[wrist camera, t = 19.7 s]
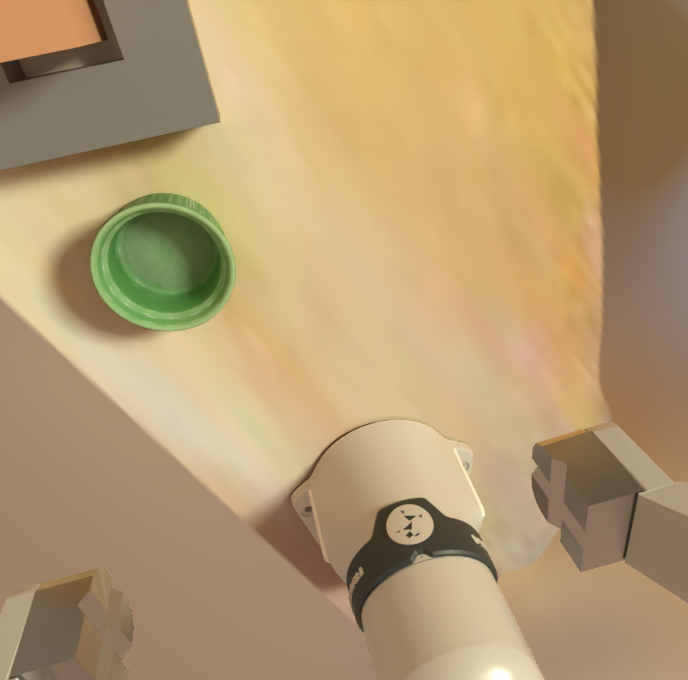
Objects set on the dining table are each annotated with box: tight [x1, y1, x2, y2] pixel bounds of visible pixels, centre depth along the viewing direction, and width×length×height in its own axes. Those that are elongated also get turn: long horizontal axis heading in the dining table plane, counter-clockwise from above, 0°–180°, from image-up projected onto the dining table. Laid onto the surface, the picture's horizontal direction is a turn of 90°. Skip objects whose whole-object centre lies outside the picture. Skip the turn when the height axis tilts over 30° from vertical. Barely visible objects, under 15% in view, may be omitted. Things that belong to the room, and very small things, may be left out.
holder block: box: [0, 0, 220, 170], centre depth 28 cm, size 14×14×4 cm
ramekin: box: [90, 193, 236, 331], centre depth 36 cm, size 9×9×4 cm
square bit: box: [0, 0, 108, 63], centre depth 26 cm, size 4×4×8 cm
